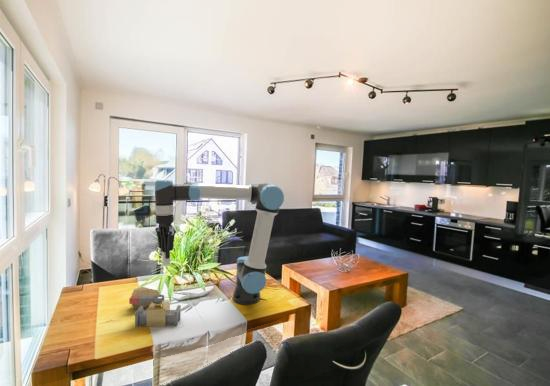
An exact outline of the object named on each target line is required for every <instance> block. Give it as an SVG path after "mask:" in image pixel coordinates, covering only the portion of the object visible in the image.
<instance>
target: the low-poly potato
mask: <svg viewBox="0 0 550 386" xmlns="http://www.w3.org/2000/svg"><path fill="white" fill-rule="evenodd" d="M158 291H159V290H158V289H152V288H149V287H145V286H140V287H137V288H134V289H133V291H132V294H131V296H156V295H161V294H160V292H158ZM150 304H151V303H138V304H131V306H132V308H135V309H137V310H138V309H139V307H140V306H143V309H146V308H148V307H149V306H150Z"/></svg>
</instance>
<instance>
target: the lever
mask: <svg viewBox="0 0 550 386" xmlns="http://www.w3.org/2000/svg"><path fill="white" fill-rule="evenodd" d="M128 300H129V305H132V304H138V303H154V304H160V303H163V302H165V295H164V294H160V295H156V296H132V295H131V296H130V297H129V299H128Z"/></svg>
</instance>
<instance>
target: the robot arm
mask: <svg viewBox="0 0 550 386" xmlns="http://www.w3.org/2000/svg"><path fill="white" fill-rule="evenodd" d="M200 199H211V200H212V199H213V200H215V199H216V200H233V201H234V200H237V201H238V200H239V201H240V200H241V201H247V202H248V203H255V210H256V212H257V213H256V218H255V223H254V229H253V233H252V238H251V241H250V246H249V252H248V255H247V256H246V255H245V256H240V257H237V259H236V280H235V281H236V283H235V287H234V290H233V292H232V300H233V301H234V302H235V303H237V304H241V305H253V304H255V303H257V302H260V299H261V291H264V288H265V287H266V285H267V277H266V272H267V266H268V265H267V264H266V261H265V260H266V257H267V254H268V253H267V252H268V248H269V243H270V238H271V233H272V229H273V225H274V221H275V220H274V219H275V216H277V215H278V214H279V211H280V207H281V206H283V203H284V201H285V193H284V192H283V190H282V189H281V188H280V187H279V186H278V185H275V184H271V183H255V184H253V183H249V184H248V185H237V184H221V183H220V184H219V183H218V184H216V183H200V182H199V183H198V182H197V183H196V182H195V183H194V182H189V181H188V182H184V183H183V184H175V183H173V180H171V179H158V180H155V183H154V200H155V201H154V203H155V214H156V215H155V223H156V224H157V225H158V227H155V232H156V238H157V244H158V248H159V250H161V253H162V255H161V256H162V266H163V267H166V266H169V265H171V255H170V254H171V251H174V243H175V235H176V232H177V231H176V230H173V225H172V224H173V223H174V222H175V217H174V216H175V215H174V202H177V201H178V202H179V201H182V202H183V201H188V202H189V201H191V202H193V201H199V200H200Z"/></svg>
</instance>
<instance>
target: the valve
mask: <svg viewBox="0 0 550 386" xmlns="http://www.w3.org/2000/svg"><path fill="white" fill-rule="evenodd" d="M170 305H171V302H170V301H164V302H163V303H160V304H154V303H151V304H150V305H149V306H147V307H146V308H147V309H146V310H144V308H143V306H140V307H139V309H137V310H136V311H135V312H134V327H135V328H138V327H142V326H146V327H147V328H155V327H156V328H158V327H159V326H165V327H166V326H172V325H171V324H174V325H177V326H178V325H179V323H180V321H179V320H181V318H182V317H181V315H182V313H181V312H182V311H181V310H182V309H181V308H182V307H181V304H179V305H178V304H177V307H175V309H170V308H171V306H170ZM178 322H179V323H178ZM174 325H173V326H174ZM157 326H158V327H157Z"/></svg>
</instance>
